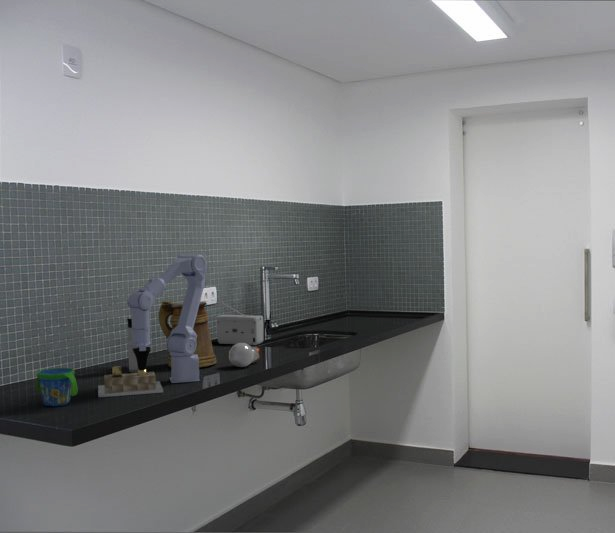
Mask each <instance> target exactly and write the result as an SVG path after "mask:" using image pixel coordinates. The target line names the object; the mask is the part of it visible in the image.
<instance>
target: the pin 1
mask: <svg viewBox="0 0 615 533" xmlns="http://www.w3.org/2000/svg"><path fill="white" fill-rule="evenodd" d="M111 368H112V371H111V372H112V375H113V377H122V375H121V374H122V366H120V365H118V366H112V367H111Z"/></svg>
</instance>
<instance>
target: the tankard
mask: <svg viewBox="0 0 615 533" xmlns="http://www.w3.org/2000/svg"><path fill="white" fill-rule="evenodd" d="M183 303H184V302H172V301H166V300H162V302H161V304H160V307H159V310H158V323H159V326H160V328H161V330H162V333H163V334H164V336H165V338H166V340H167V339H168V337H169V336H170V334H171V331H172V330H173V329H174V328H175V327H177V326H178V322H179V318H180V314H181V311H182V307H183ZM207 305H208V304H207V302H206V301H200V304H199V308H198V312H197V316H196V320H195V323H194V327H193V330H194V332H195V333H196V334H197V339H196V343H197V346H196V350H195V352H194V353H193V355H194V354H197V355H198V359H199V368H204V367H209V366H213V365H216V363H217V357H216V354H215V353H214V347H213V344H212V338H211V334H210V328H209V322H208V321H209V315H208V314H209V313H208V312H207V310H206V307H205V306H207ZM169 318H170V321H169ZM169 323H170V324H171V326H170V324H169ZM185 337H186V336H185ZM167 365H168V367H170V368H171V355H170V354H168V355H167Z"/></svg>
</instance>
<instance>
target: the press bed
mask: <svg viewBox="0 0 615 533" xmlns="http://www.w3.org/2000/svg"><path fill="white" fill-rule="evenodd" d="M97 387H98V388H97V395H98V398H109V397H121V396H122V397H123V396H134V395H149V394H159V393H164V389H163V386H162V384H161V382H160V381H159V380H158V381H156V388H145V389H132V390H119V391H106V392H105V384H102V385H99V384H98V386H97Z"/></svg>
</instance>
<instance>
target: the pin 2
mask: <svg viewBox="0 0 615 533" xmlns="http://www.w3.org/2000/svg"><path fill="white" fill-rule="evenodd" d="M147 372H148V371H147V368H146V369H145V370H139V369H138V376H141V375H147Z"/></svg>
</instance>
